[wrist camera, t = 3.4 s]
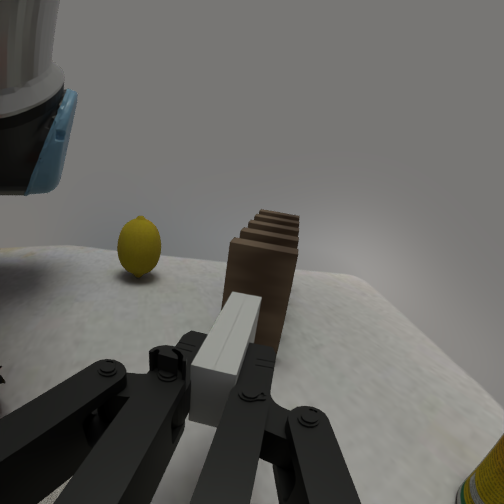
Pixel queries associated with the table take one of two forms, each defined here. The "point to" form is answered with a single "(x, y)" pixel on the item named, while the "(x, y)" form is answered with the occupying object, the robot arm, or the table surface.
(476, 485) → the supplement bottle
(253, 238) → the domino
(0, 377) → the dragon fruit
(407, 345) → the table surface
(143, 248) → the lemon
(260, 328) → the domino
